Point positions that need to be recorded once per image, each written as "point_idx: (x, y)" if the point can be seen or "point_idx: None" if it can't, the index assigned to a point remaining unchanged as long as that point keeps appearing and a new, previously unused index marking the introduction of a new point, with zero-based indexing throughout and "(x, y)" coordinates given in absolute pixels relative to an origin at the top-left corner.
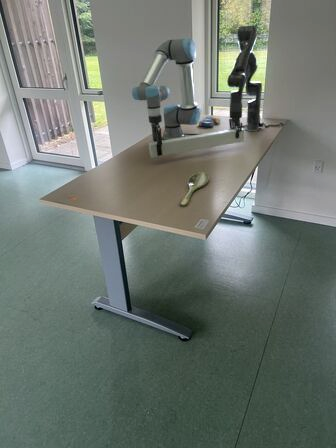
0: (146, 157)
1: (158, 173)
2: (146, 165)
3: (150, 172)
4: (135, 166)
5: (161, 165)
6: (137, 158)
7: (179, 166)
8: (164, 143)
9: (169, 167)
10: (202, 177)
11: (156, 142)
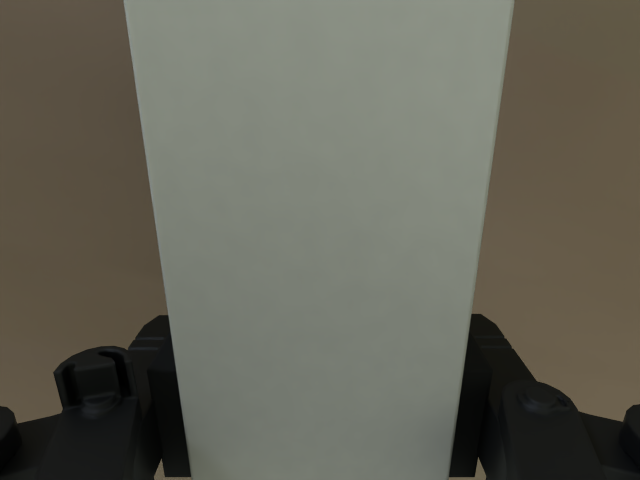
0: (50, 318)
1: (626, 318)
2: None
3: (541, 380)
4: None
5: None
6: (53, 408)
7: (605, 2)
8: (473, 264)
9: (544, 152)
10: None
11: (285, 468)
